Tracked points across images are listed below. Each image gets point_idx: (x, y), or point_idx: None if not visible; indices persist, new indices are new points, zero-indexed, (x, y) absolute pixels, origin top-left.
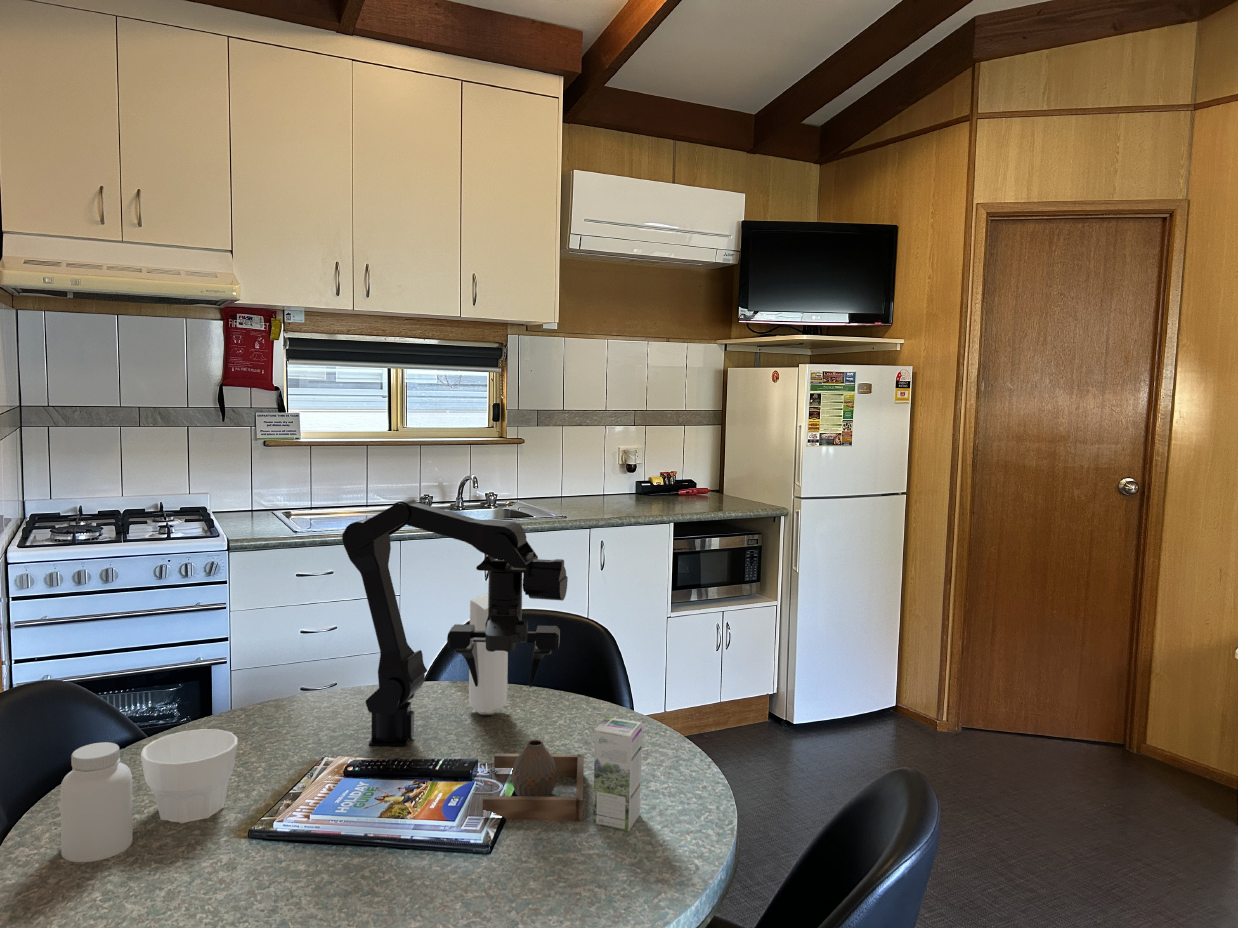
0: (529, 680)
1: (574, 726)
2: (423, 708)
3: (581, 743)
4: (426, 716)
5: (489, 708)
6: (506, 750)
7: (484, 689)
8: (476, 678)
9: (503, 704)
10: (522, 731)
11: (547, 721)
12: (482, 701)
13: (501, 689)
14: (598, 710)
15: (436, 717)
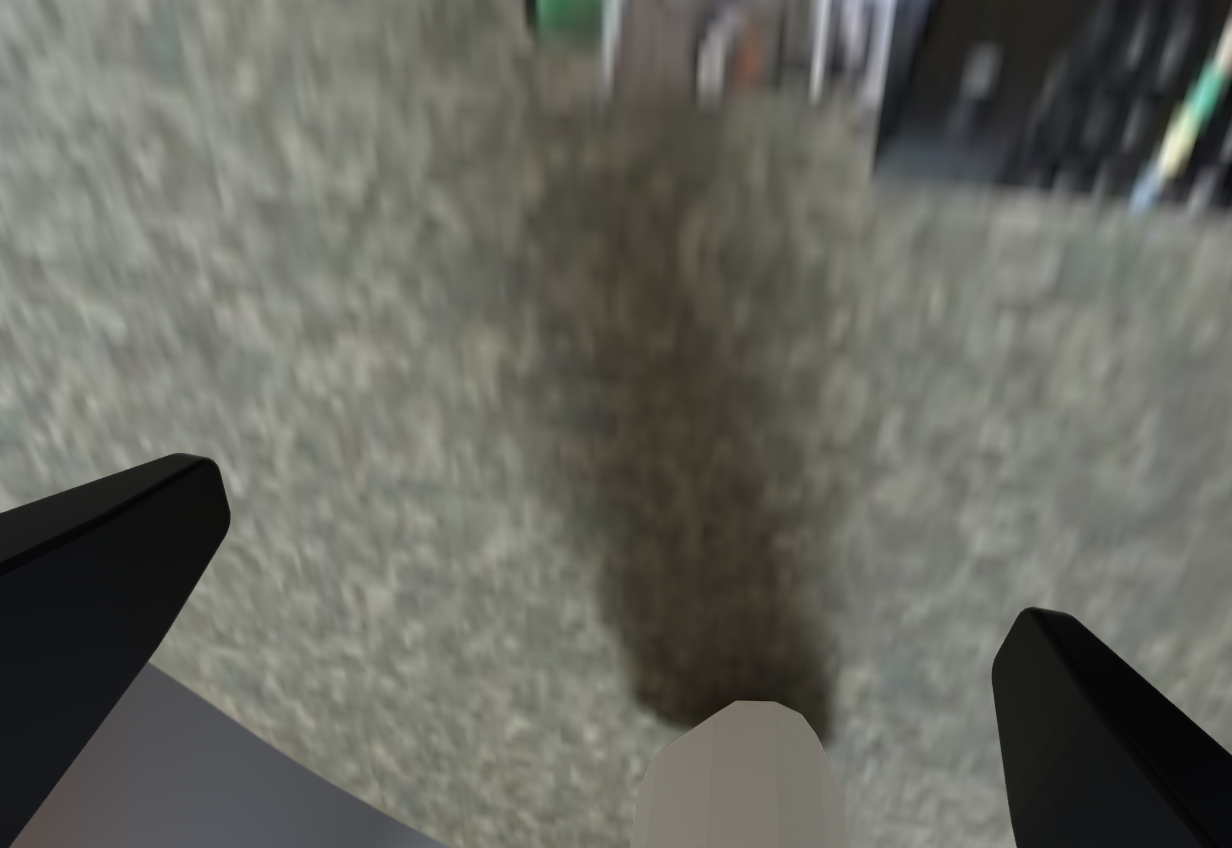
0: (125, 504)
1: (306, 538)
2: None
3: (227, 335)
4: None
5: (739, 720)
6: (660, 292)
7: (774, 834)
8: (1122, 710)
9: (658, 755)
10: (566, 527)
11: (445, 610)
12: (783, 762)
13: (660, 837)
14: (233, 667)
15: None
